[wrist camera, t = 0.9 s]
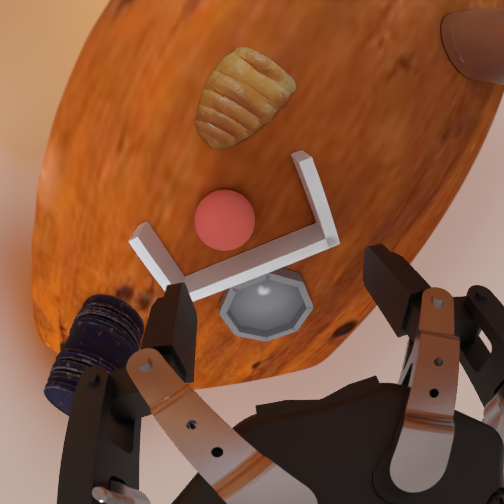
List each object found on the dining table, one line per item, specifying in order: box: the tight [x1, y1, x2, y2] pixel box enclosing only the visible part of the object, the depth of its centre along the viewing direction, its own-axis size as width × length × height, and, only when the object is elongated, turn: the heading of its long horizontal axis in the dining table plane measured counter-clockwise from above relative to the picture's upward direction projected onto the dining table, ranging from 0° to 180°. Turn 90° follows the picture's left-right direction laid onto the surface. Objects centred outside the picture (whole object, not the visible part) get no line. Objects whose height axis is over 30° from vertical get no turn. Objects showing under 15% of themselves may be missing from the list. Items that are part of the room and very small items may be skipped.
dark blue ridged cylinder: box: [44, 294, 144, 416], centre depth 28 cm, size 10×10×15 cm
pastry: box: [195, 47, 296, 149], centre depth 20 cm, size 9×7×4 cm
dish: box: [219, 268, 313, 341], centre depth 33 cm, size 10×10×2 cm
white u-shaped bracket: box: [128, 150, 340, 302], centre depth 26 cm, size 18×9×4 cm, turn 114°
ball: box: [194, 190, 255, 251], centre depth 25 cm, size 6×6×6 cm
